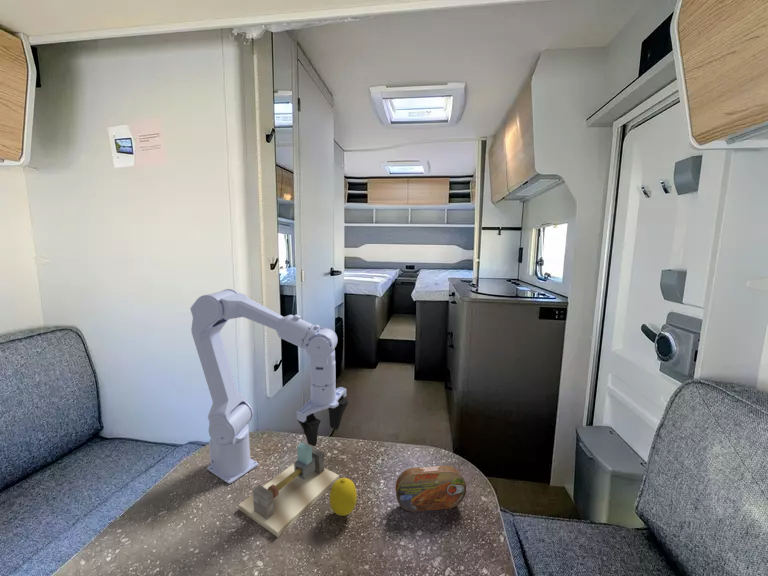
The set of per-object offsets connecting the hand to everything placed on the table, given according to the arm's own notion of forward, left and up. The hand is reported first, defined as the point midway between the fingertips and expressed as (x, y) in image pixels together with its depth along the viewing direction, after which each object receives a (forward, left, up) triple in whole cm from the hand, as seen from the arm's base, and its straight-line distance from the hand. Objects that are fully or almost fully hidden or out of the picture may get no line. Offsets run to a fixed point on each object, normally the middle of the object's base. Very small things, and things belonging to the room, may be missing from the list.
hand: (323, 435), depth 77 cm
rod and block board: (-2, -8, -10) cm, 13 cm away
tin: (+25, +6, -11) cm, 28 cm away
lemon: (+11, -6, -10) cm, 16 cm away
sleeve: (-2, -4, -8) cm, 9 cm away
